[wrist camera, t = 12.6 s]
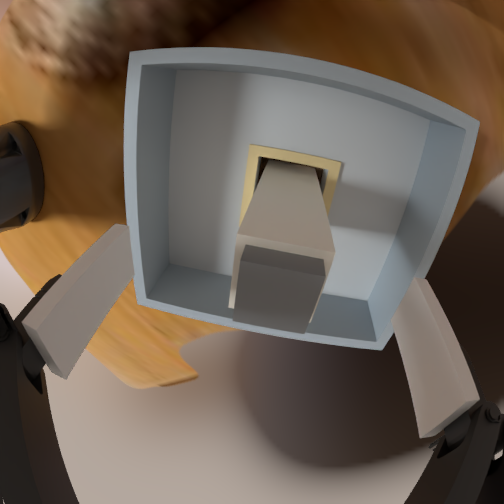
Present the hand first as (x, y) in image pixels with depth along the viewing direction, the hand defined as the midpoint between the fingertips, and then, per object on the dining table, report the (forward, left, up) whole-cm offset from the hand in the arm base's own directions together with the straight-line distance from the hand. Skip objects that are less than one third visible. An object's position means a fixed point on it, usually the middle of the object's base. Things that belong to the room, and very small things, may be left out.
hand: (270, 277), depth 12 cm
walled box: (0, 0, -14) cm, 14 cm away
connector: (0, 0, -14) cm, 14 cm away
